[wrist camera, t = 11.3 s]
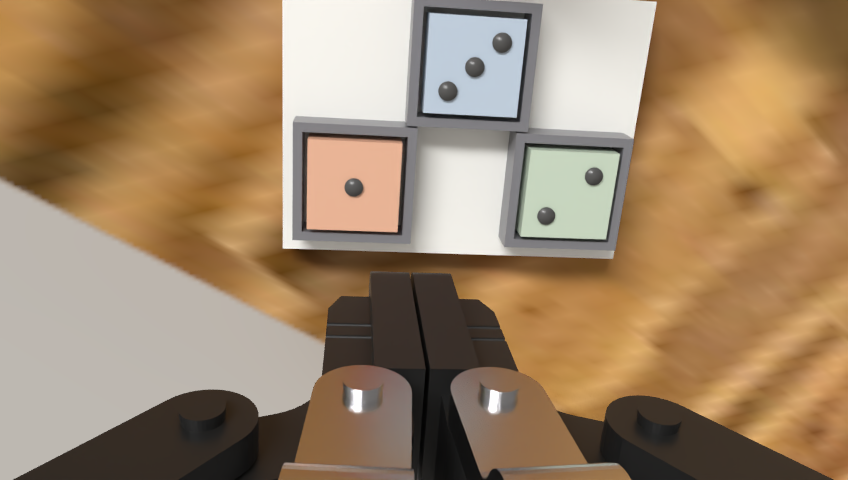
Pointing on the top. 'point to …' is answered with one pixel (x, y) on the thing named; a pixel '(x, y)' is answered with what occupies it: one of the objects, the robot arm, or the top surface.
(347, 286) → the top surface
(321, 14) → the button panel
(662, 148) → the top surface
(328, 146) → the button one
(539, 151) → the button two
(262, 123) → the top surface
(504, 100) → the button three
